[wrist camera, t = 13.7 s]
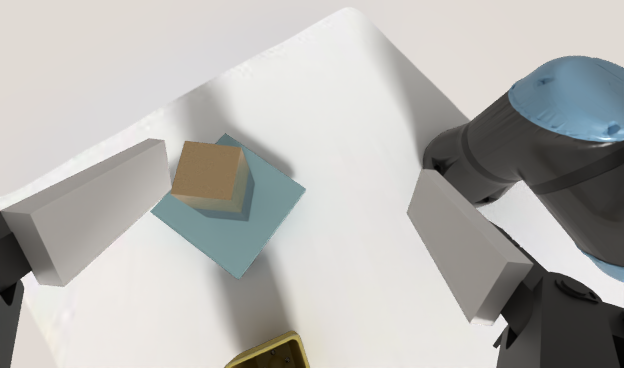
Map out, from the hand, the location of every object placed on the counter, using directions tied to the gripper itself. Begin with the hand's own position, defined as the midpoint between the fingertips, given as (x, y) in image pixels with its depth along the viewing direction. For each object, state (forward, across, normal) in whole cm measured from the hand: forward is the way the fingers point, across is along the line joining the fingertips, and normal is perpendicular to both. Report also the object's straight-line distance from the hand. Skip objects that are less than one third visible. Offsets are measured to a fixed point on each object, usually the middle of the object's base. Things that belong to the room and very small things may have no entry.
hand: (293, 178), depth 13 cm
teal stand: (+24, -10, -18) cm, 31 cm away
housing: (+20, -10, -14) cm, 27 cm away
